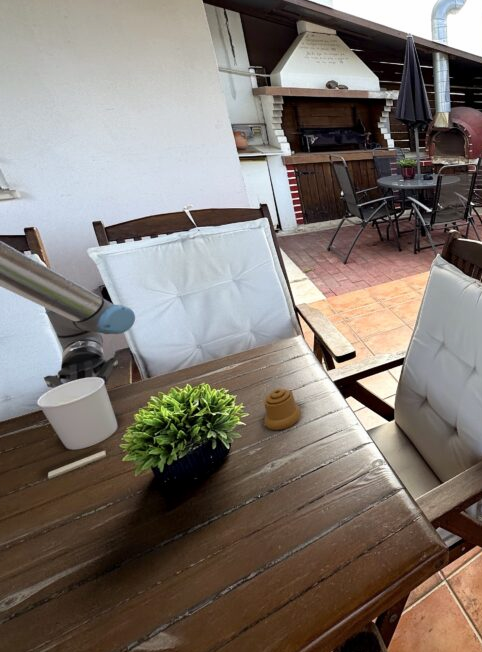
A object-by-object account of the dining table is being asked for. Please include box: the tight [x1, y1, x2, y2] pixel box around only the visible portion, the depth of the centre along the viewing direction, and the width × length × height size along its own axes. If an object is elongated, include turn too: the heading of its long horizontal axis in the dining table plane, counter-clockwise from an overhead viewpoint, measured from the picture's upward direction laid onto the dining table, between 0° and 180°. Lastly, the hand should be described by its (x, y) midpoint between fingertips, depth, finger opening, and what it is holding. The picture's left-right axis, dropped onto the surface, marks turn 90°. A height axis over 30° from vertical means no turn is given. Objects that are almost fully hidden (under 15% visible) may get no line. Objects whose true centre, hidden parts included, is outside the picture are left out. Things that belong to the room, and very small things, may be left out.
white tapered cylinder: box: [36, 377, 119, 451], centre depth 86 cm, size 10×10×12 cm
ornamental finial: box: [263, 388, 302, 431], centre depth 91 cm, size 8×8×8 cm
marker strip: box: [47, 450, 107, 480], centre depth 80 cm, size 8×2×1 cm, turn 135°
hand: (82, 401), depth 89 cm, fingers closed
